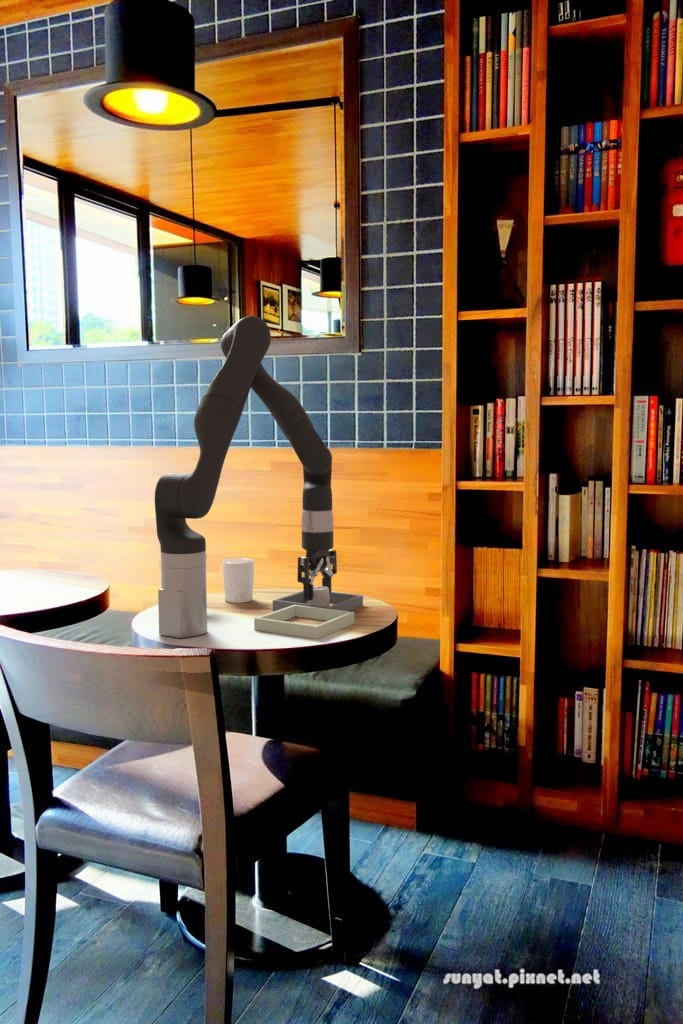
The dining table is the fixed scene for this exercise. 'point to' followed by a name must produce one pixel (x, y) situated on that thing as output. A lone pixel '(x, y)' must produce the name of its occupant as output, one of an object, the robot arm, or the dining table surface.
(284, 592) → the dining table surface
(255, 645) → the dining table surface
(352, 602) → the gray frame
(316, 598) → the die
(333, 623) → the sage frame
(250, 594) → the white cup
